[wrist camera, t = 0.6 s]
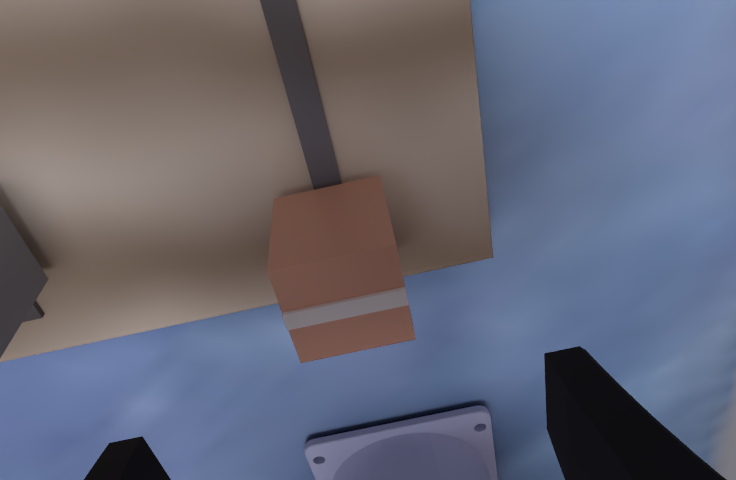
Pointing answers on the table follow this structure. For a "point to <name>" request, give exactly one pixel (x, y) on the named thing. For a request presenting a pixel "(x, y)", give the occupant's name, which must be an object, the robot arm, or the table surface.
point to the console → (223, 146)
